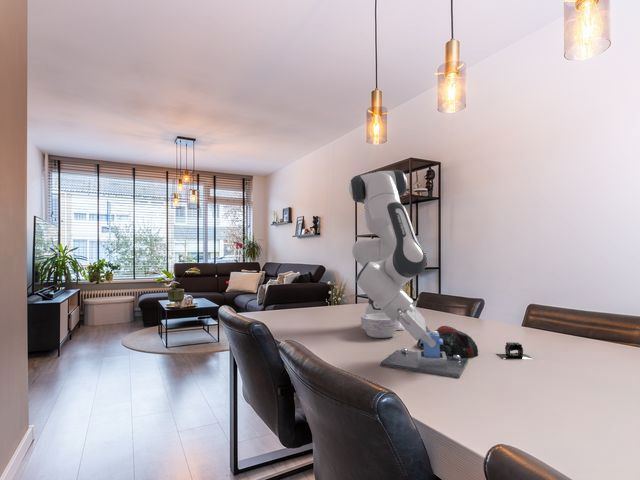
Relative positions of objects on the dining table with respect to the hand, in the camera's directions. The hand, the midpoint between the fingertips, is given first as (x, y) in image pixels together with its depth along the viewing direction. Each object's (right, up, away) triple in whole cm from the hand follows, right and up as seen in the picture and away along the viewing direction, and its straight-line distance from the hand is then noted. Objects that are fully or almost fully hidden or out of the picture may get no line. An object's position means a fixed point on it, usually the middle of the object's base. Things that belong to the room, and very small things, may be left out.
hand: (433, 341), depth 110 cm
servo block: (-1, -6, 0) cm, 6 cm away
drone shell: (+10, -8, +18) cm, 22 cm away
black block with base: (+28, -8, +8) cm, 30 cm away
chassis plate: (-2, -7, +1) cm, 7 cm away
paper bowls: (-9, -8, +38) cm, 40 cm away
